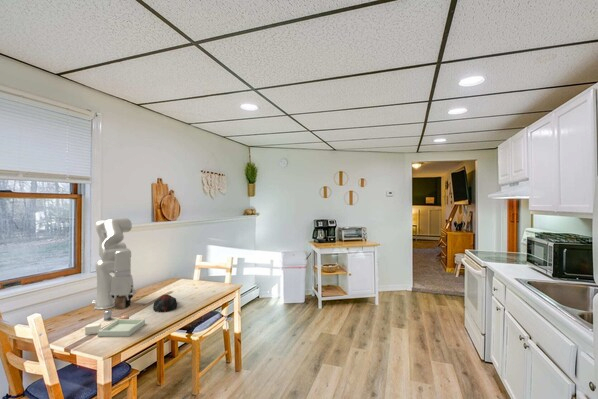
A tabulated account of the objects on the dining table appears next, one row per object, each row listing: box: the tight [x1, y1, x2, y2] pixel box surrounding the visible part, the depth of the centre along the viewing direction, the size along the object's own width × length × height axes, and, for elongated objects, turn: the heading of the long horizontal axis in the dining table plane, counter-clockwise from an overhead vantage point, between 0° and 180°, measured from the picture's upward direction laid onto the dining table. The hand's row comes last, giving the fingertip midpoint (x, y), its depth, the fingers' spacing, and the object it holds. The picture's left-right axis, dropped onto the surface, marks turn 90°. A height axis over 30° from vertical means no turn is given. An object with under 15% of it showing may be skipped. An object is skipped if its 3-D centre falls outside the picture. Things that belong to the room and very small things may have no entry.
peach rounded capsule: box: [119, 314, 130, 319], centre depth 172 cm, size 4×4×3 cm
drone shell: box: [152, 294, 178, 313], centre depth 198 cm, size 21×20×8 cm
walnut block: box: [114, 295, 131, 311], centre depth 160 cm, size 5×5×6 cm
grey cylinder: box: [103, 309, 113, 321], centre depth 176 cm, size 4×4×5 cm
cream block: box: [84, 322, 102, 336], centre depth 157 cm, size 6×4×4 cm, turn 109°
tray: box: [97, 318, 146, 337], centre depth 160 cm, size 16×16×3 cm
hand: (122, 306), depth 160 cm, fingers closed on walnut block, 5 cm apart
